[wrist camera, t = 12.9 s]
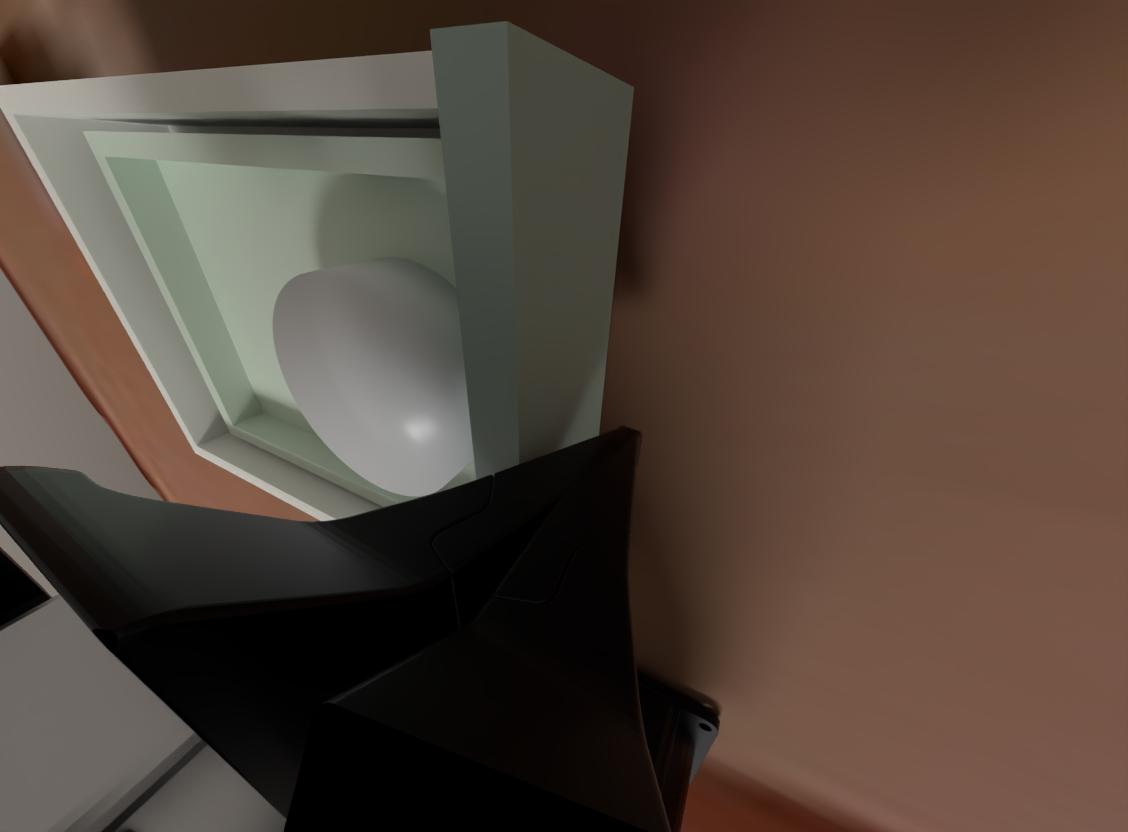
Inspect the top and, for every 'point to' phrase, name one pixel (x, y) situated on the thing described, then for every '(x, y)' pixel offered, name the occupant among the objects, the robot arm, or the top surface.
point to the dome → (379, 370)
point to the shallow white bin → (209, 106)
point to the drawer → (406, 242)
